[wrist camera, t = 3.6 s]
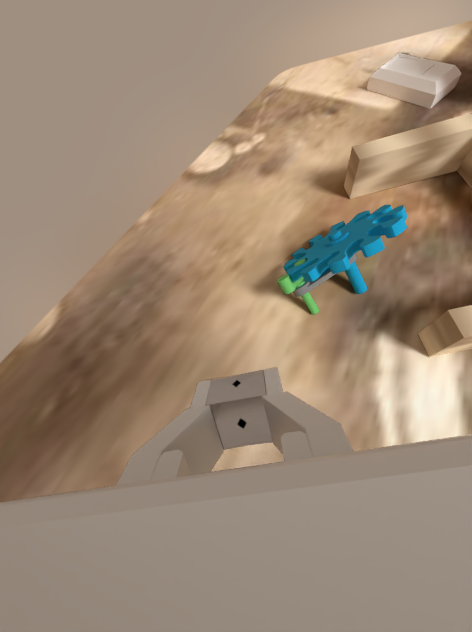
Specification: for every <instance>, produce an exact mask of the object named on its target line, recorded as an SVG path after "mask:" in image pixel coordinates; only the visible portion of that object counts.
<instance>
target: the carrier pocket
mask: <svg viewBox="0 0 472 632" xmlns="http://www.w3.org/2000/svg"><path fill="white" fill-rule="evenodd" d="M454 171H457V172H458V173H459V174H460V175H461V177H462V178H463V179H464V180H465V181H466V183H467V184H468V185H469V186H470V187H471V189H472V113H470V114H467V115H463V116H459V117H456V118H452V119H449V120H445V121H442V122H438V123H435V124H431V125H428V126H424V127H420V128H417V129H413V130H410V131H406V132H403V133H399V134H396V135H392V136H389V137H385V138H381V139H378V140H374V141H371V142H367V143H364V144H360V145H357V146H353V147H352V151H351V155H350V160H349V164H348V169H347V173H346V178H345V183H344V188H345V190H346V192H347V194H348V196H349V198H350V199H351V198H355V197H359V196H363V195H367V194H370V193H374V192H378V191H382V190H386V189H389V188H393V187H397V186H401V185H405V184H409V183H412V182H416V181H420V180H424V179H428V178H432V177H435V176H439V175H443V174H447V173H451V172H454ZM418 335H419V337H420V339H421V341H422V343H423V345H424V347H425V349H426V351H427V353H428V355H429V357H432V356H437V355H442V354H448V353H453V352H458V351H463V350H468V349H472V305H469V306H465V307H460V308H455V309H450V310H447V311H446V312H445V313H443V314H442V315H441V316H439V317H438V318H437V319H436V320H434V321H433V322H432V323H431V324H429V325H428V326H427V327H425V328H424V329H423V330H422V331H420V332H419V333H418Z"/></svg>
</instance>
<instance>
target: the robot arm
mask: <svg viewBox="0 0 472 632" xmlns="http://www.w3.org/2000/svg"><path fill="white" fill-rule="evenodd" d="M270 442H273V444H274V445H275V446H276V447H277V448H278V449H279V451H280V452H281V453H282V454H283V457H284V462H277V463H270V464H263V465H256V466H249V467H242V468H235V469H228V470H221V471H214V472H211V470H212V469H213V467H214V466H215V464H216V462H217V461H218V459H219V458H220V456H221V455H222V453H223V452H224V450H225V449H230V448H235V447H241V446H246V445H254V444H262V443H270ZM0 632H472V434H471V435H464V436H457V437H450V438H443V439H436V440H429V441H422V442H416V443H409V444H402V445H395V446H388V447H381V448H374V449H367V450H360V451H353V449H352V447H351V445H350V443H349V441H348V439H347V437H346V434H345V432H344V430H343V428H342V426H341V424H340V423H338V422H337V421H335V420H333V419H332V418H330V417H328V416H327V415H325V414H323V413H322V412H320V411H319V410H317V409H315V408H314V407H312V406H310V405H309V404H307V403H305V402H304V401H302V400H300V399H299V398H297V397H295V396H294V395H292V394H290V393H289V392H283V389H282V385H281V380H280V376H279V371H278V368H277V367H274V368H269V369H265V370H259V371H255V372H250V373H245V374H240V375H234V376H228V377H222V378H215V379H209V380H204V381H200V382H198V384H197V387H196V390H195V393H194V396H193V400H192V403H191V406H190V408H189V409H185V410H184V411H183V412H182V413H181V414H180V415H178V416H177V417H176V418H175V419H174V420H173V421H171V422H170V423H169V424H168V425H167V426H166V427H164V428H163V429H162V430H161V431H160V432H159V433H158V434H156V435H155V436H154V437H153V438H152V439H151V440H149V441H148V442H147V443H146V444H145V445H144V446H142V447H141V448H140V449H139V450H138V451H137V452H135V453H134V454H133V455H132V456H131V458H130V460H129V462H128V464H127V466H126V468H125V470H124V472H123V474H122V476H121V478H120V480H119V482H118V484H117V485H116V486H110V487H103V488H96V489H89V490H82V491H75V492H68V493H61V494H54V495H47V496H41V497H34V498H27V499H20V500H13V501H6V502H0Z"/></svg>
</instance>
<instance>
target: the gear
mask: <svg viewBox="0 0 472 632" xmlns="http://www.w3.org/2000/svg"><path fill="white" fill-rule="evenodd" d="M406 219H407V214H406V211H405V208H404V206H403V205H402V206H399V207H397V208H395V209H393V210H392V208H391V205H384V206H382V207H380V208H379V209H377V210H376V211H375V212H373V213H372V214H370V212H369V211H365V212H361V213H359V214H357V215H356V216H355V217H354V218H353V219H352V220H351V221H350V222H349V223H348V224H346V225H345V223H344V221H343V222H340V223H338V224H336V225H334V226H332V227H331V228H330V229H331V231H330V232H329V234H328V235H327V236H325V237H324V238H322V236H321V235H318V236H316V237H314V238H312V239H311V240H309V243H310V245H311V248H309V249H307V250H305V249H304V248H300V249H299V250H297V251H296V252H295V253H293V254H292V256H293V258H294V259H292V260H290V261H288V262H287V263H286V264H285V265H284V269H285V271H286V272H287V274H286V275H284V276H282V277H280V278H279V279H278V280H277V282H278V284H279V285H280V287H281V288H282V290H283V292H284V293H285V294H289V293H291V292H293V293H294V295H295V296H296V297H298V296H302V298H303V300H304V302H305V303H306V305H307V307H308V308H309V310H310V312H311V314H316V313H318V312H319V309H318V307H317V305H316V304H315V302H314V300H313V298H312V297H311V295H310V293H309V291H311V290H312V289H314V288H315V287H317V286H318V285H320V284H321V283H323V282H324V281H326V280H327V279H329V278H330V277H332V276H333V275H335V274H336V273H339V272H342V271H345V272H346V274H347V276H348V278H349V280H350V282H351V284H352V286H353V288H354V291H355V293H356V294H361V293H364V292H365V291H366V290H367V287H366V284H365V282H364V280H363V278H362V276H361V274H360V272H359V270H358V267H357V265H356V263H355V261H356V259H357V256H356V254H355V253H356V252H358V251H360V250H362V252H363V255H364V257H370V256H372V255H374V254H376V253H378V252H380V251H381V250H383V249H385V247H384V245H383V242H382V240H381V237H380V236H381V235H386V237H387V238H392V237H396V236H397V235H399V234H400V233H402V232H403V231H404V230H405V229H406V228H407V226H406V223H405V220H406Z"/></svg>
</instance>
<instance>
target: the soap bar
mask: <svg viewBox="0 0 472 632" xmlns="http://www.w3.org/2000/svg"><path fill="white" fill-rule="evenodd" d="M461 74H462V73H461V72H460V70H459V69H458V68H457V66H456V65H452V64H447V63H443V62H438V61H434V60H429V59H425V58H420V57H415V56H411V55H406V54H402V53H398V54H397V55H396V56H394V57H393V58H392V59H391V60H389V61H388V62H387V63H385V64H384V65H383V66H382V67H380V68H379V69H378V70H377V71H376V72H374V73H373V74H372V75H371V76H370V77H369V81H368V85H367V90H369V91H373V92H376V93H379V94H383V95H386V96H389V97H392V98H396V99H399V100H402V101H406V102H409V103H412V104H416V105H419V106H422V107H426V108H429V109H431V108H432V107H433V106H434V105H435V104H436V103H437V102H439V101H440V100H441V99H442V98H443V97H444V96H446V95H447V94H448V93H449V92H450V91H451V90H453V89H454V88H455V86H456V84H457V82H458V80H459V78H460V76H461Z"/></svg>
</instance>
